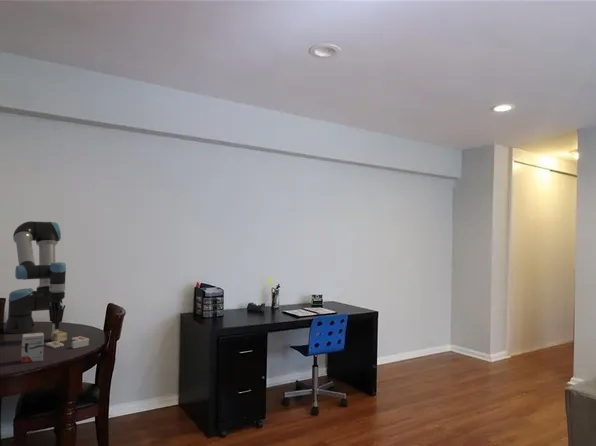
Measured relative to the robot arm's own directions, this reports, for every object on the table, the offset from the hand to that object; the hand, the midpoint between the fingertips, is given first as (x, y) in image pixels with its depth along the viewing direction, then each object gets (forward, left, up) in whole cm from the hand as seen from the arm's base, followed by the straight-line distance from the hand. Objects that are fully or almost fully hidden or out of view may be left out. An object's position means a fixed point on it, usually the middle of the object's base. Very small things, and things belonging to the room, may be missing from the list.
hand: (55, 335), depth 243 cm
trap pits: (+12, 0, -2) cm, 12 cm away
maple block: (+4, 0, -2) cm, 4 cm away
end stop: (+23, 0, -2) cm, 23 cm away
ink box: (+28, -26, -2) cm, 38 cm away
